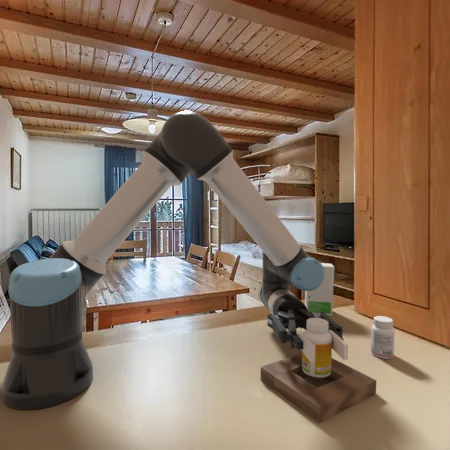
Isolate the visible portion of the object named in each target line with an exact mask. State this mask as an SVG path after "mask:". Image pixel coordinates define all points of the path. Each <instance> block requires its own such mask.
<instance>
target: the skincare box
mask: <svg viewBox="0 0 450 450" xmlns="http://www.w3.org/2000/svg"><path fill="white" fill-rule="evenodd" d="M320 263H321V264H322V266H323V268H324V272H325V276H324V280H323V282H322V284H321V285H320V286H319V287H318V288H317V289H315V290H313V291H304V304H305V306H306V308H307V310H308V311H310V312H312V313H313V314H314V315H318V314H320V312H325V313H326V316H328V317H333V308H334V305H333V304H334V286H335V285H334V283H335V282H334V281H335V266H334V265H333V264H332V263H330V262H329V263H328V262H327V263H326V262H320Z"/></svg>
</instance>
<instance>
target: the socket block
mask: <svg viewBox="0 0 450 450" xmlns="http://www.w3.org/2000/svg"><path fill="white" fill-rule="evenodd" d="M308 376H309V375H307V374H306V373H305V372H304V371H303V370H302V352H301V353H297V354H295V355H291V356H289V357H286V358H283V359H280V360H277V361H274V362H272V363H271V362H270V363H269V364H265V365H263V366H260V380H261V381H263V382H264V383H265V384H267V385H268V386H269V387H270V388H272V389H273V390H275V391H276V392H277V393H278V394H280V395H281V396H283V397H284V398H285V399H287V400H288V401H289V402H291V403H292V404H294V405H295V406H296V407H297V408H299V409H300V410H302V411H303V412H305V413H306V414H307V415H309V416H310V417H311V418H312V419H313V420H315V421H316V422H318V423H321V422H324V421H325V420H327V419H329V418H331V417H333V416H336V415H338V414H339V413H341V412H343V411H345V410H347V409H349V408H351V407H353V406H355V405H356V404H359V403H360V402H362V401H364V400H366V399H368V398H369V397H371V396H373V395H376V394H377V379H375V378H373V377H370V376H369V375H367V374H365V373H363V372H360V371H359V370H356V369H355V368H352V367H350V366H349V365H347V364H345V363H343V362H341V361H339V360H337V359H335V358H333V357H332V358H331V373H330V375H329V376H327V377H323V378H324V379H325V380H327V381H328V383H325V384H323V385H321V386H319V387H318V386H315V385H314V384H312V383H311V382H310V381H308V380H306V379H305V378H306V377H308Z"/></svg>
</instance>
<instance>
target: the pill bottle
mask: <svg viewBox="0 0 450 450" xmlns="http://www.w3.org/2000/svg"><path fill="white" fill-rule="evenodd" d="M370 339H371V340H370V341H371V342H370V344H371V345H370V346H371V347H370V352H371V354H372V355H373V356H375V357H377V358H380V359H384V360H385V359H387V360H388V359H389V360H390V359H392V358H394V356H395V329H394V320H393V318H391V317H388V316H385V315H377V316H374V317H373V324H372V326H371V338H370Z"/></svg>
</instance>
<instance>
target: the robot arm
mask: <svg viewBox="0 0 450 450" xmlns="http://www.w3.org/2000/svg"><path fill="white" fill-rule="evenodd" d="M191 173H192V174H193V176H194V177H195V178H196V179H197V180H198V181H204V182H205V183H206V184H208V186H209V187H210V188H211V190H212V191H213V192H214V193H215V195H216V196H217V197H218V198H219V200H220V201H221V202H222V203H223V204H224V206H226V208H227V209H228V211H229V212H230V213H231V215H233V217H234V218H235V219H236V220H237V222H238V223H239V224H240V225H241V226H242V227H243V229H244V230H245V232H247V233H248V235H249V236H250V237H251V239H252V240H253V241H254V242H255V243H256V244H257V246H258V247H259V248H260V249H261V251H262V253H261V256H262V281H261V282H262V284H261V285H260V287H259V289H258V295H259V299H260V301H261V303H262V304H263V306H264V307H265V308H266V309H267V310H268V311H269V312H270V313H268V314H267V318H266V319H267V322H266V324H267V327H269V328H270V329H272V331H273V332H274V334H275V336H276V338H277V339H278V340H279V343H280V344H287V342H289V345H290V348H292V349H296V350H300V351H301V353H302V352H303V353H304V355H305V356H306V357H307V358H308V360H309V361H310V362H314V359H315V346H314V345H313V344H312V343H311V342H310V341H309V339H308V338H307V337H306V336H305V335H304V334H303V331H298V330H297V329H298V328H300V329H304V331H305V330H306V329H307V327H306V323H307V319H309V318H321V319H324V320H327V321H328V331H327V332H329V333H330V334H331V336H332V351H334V352H335V353H336V354H337V355H338V356H339V357H340V358H341V359H342V360H344V361H348V359H349V357H348V356H349V344H348V343H347V342H346V341H345V339H344V338H343V332H344V329H343V328H344V327H343V326H341V325H340V324H338V323H337V322H336V321H335V320H333V319H331V318H330V316H327V315H326V313H325V312H320V314H318V315H314V314H313V313H312V312H310V311H308V310H307V308H306V306H305V302H303V301H302V300H301V299H300V298H298V296H296V295H295V294H294V293H292V291H291V286H292V287H294V288H295V289H298V290H301V291H304V292H305V291H313V290H315V289H317V288H318V287H319V286H320V285H321V284H322V282H323V280H324V276H325V272H324V268H323V266H322V264H321V263H322V262H320V261H319V260H317V259H316V258H314V257H312V256H309V255H308V253H307V252H306V251H305V250H304V249H303V247H302V246H301V245H300V243H299V242H298V241H297V239H296V238H295V237H294V236H293V234H292V233H291V232H290V231H289V229H288V228H287V227H286V225H284V223H283V222H282V220H281V219H280V217H278V215H277V214H276V213H275V210H273V209H272V207H271V206H270V205H269V203H268V201H266V200H265V198H264V197H263V196H262V194H261V193H260V192H259V190H258V189H257V187H256V186H255V185H254V184H253V182H252V181H251V180H250V179H249V177H248V176H247V175H246V173H245V172H244V171H243V170H242V168H241V167H240V166H239V164H238V163H237V162H236V160H235V159H234V150H233V148H232V147H231V146H230V145H229V144H228V142H227V141H226V139H225V137H223V136H222V134H221V133H220V131H218V129H217V128H216V127H215V126H214V125H213V123H212V122H211V121H209V119H208V118H206V116H203V115H202V114H201V113H198V112H195V111H191V110H184V111H183V110H181V111H180V112H175V113H174V114H173V115H171V116H169V117H168V118H167V119H166V121H164V123H163V126H162V128H161V131H160V132H159V133H158V134H157V135H156V137H155V138H154V139H153V140H152V141H151V142H150V144H149V145H147V147H146V148H145V149H144V150H143V151H142V163H140V165H139V166H138V167H137V169H135V170H134V171H133V173H132V174H131V175H130V176H129V177H128V178H127V180H126V181H124V183H123V184H122V185H121V187H120V188H119V189H118V190H117V191H116V192H115V193H114V194H113V196H112V197H111V198H110V199H109V200H108V201H107V202H106V204H104V206H103V207H102V208H101V209H100V210H99V212H97V214H96V215H95V216H94V217H93V218H92V219H91V220H90V222H89V223H88V224H87V225H86V226H85V227H84V228H83V230H82V231H80V233H79V234H78V235H77V236H76V238H74V239H73V240H66V241H63V242H62V243H61V244H60V245H59V246H58V247H57V249H55V251H54V252H53V253H52V254H51V255H50V256H49V257H48V258H42V259H35V260H32V261H31V262H25V263H23V264H20V265H19V266H17V267H16V268H14V269H13V270H12V271H11V273H10V275H9V285H8V296H9V309H10V313H9V314H10V327H11V329H10V330H11V346H12V347H11V348H12V349H11V351H12V353H11V355H10V356H11V357H10V360H9V361H8V362H9V363H8V366H7V369H6V373H5V376H4V379H3V381H2V387H1V392H2V395H1V397H2V401H3V403H4V404H5V405H7V406H8V407H10V408H12V409H15V410H16V409H18V410H36V409H37V410H39V409H43V408H49V407H51V406H52V407H53V406H56V405H59V404H61V403H65V402H67V401H69V400H71V399H73V398H75V397H77V396H79V395H80V394H81V393H83V392H84V391H85V390H86V389H88V388H89V387H90V385H91V384H92V381H93V379H94V366H93V363H92V359H91V358H90V356H89V353H88V350H87V347H86V346H85V342H84V340H83V339H84V338H83V318H82V317H83V314H82V313H83V310H82V308H83V306H82V305H83V303H84V301H85V298H86V296H87V295H89V292H90V291H91V290H92V289H93V288H94V287H95V285H96V284H97V283H98V282H99V281H100V280H101V278H102V277H103V276H104V275H105V274H106V272H107V269H106V263H107V261H108V260H109V259H110V258H111V257H112V255H113V254H114V253H115V252H116V251H117V250H118V249H119V248H120V246H121V245H122V244H123V242H124V241H126V239H127V238H128V237H129V236H130V234H131V233H132V232H133V231H134V230H135V229H136V227H138V225H139V224H140V223H141V222H142V221H143V219H144V218H145V217H146V216H147V215H148V213H149V212H150V211H151V210H152V209H153V207H155V205H156V204H158V201H160V199H162V197H163V196H164V194H166V193H167V191H168V190H169V189H170V188H171V187H172V186H173V187H174V186H180V185H181V184H183V182H184V181H185V180H186V179H187V177H188V176H189V175H190V174H191ZM287 330H288V331H287Z"/></svg>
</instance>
